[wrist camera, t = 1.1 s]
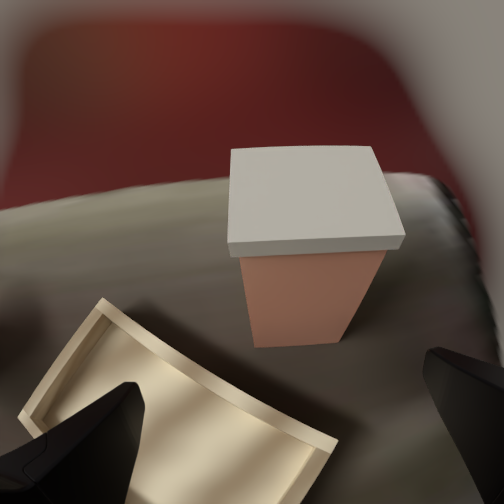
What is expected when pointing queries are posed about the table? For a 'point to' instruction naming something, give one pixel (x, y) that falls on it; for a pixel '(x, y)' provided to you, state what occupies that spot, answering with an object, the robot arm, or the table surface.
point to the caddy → (308, 237)
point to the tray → (180, 420)
